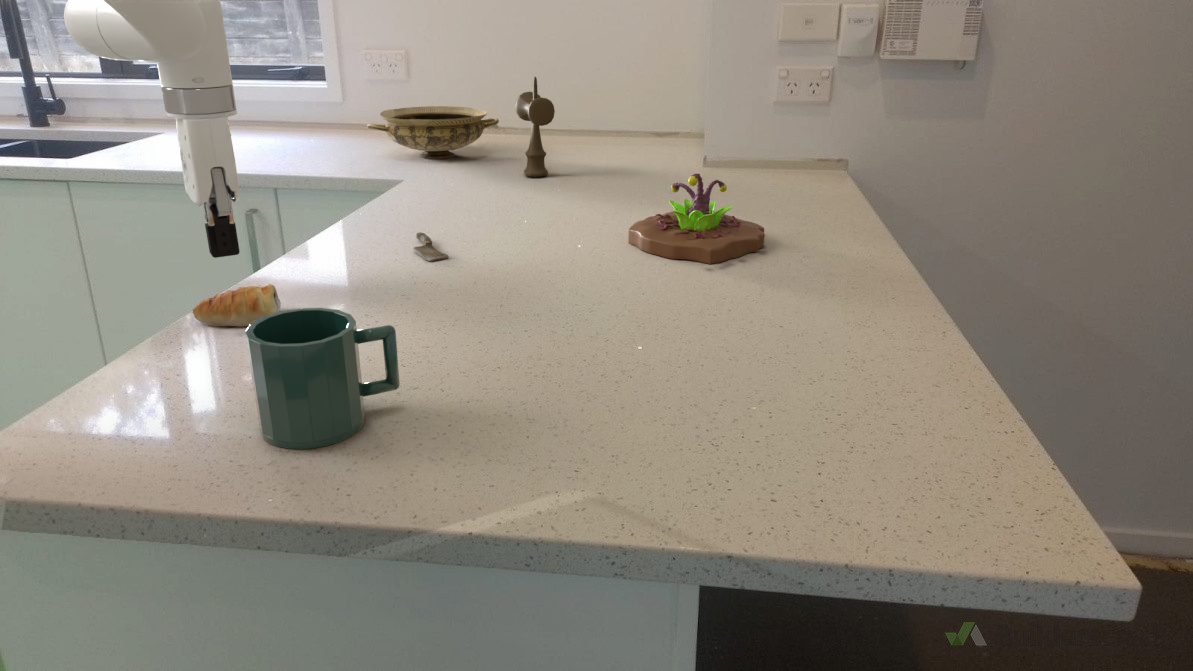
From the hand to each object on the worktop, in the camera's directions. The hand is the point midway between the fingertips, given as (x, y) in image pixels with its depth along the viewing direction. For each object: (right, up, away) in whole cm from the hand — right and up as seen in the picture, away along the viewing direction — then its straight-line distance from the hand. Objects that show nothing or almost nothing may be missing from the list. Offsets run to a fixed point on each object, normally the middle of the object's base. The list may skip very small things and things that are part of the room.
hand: (225, 254), depth 104 cm
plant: (+61, +4, +27) cm, 67 cm away
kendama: (+33, +23, +72) cm, 83 cm away
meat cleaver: (+21, +3, +21) cm, 30 cm away
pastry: (+5, -8, -5) cm, 11 cm away
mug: (+22, -18, -28) cm, 40 cm away
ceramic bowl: (+9, +31, +90) cm, 96 cm away
